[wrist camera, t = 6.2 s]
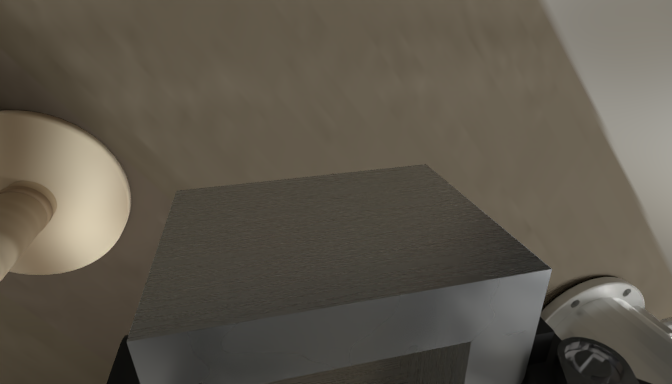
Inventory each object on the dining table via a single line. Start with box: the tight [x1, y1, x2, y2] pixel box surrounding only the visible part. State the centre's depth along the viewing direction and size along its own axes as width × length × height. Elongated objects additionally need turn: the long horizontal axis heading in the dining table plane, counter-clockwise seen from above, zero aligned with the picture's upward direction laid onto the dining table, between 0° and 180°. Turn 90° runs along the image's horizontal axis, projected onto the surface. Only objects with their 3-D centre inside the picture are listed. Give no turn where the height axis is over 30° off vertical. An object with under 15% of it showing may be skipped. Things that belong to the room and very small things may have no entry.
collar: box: [127, 164, 552, 384], centre depth 10 cm, size 7×7×5 cm
